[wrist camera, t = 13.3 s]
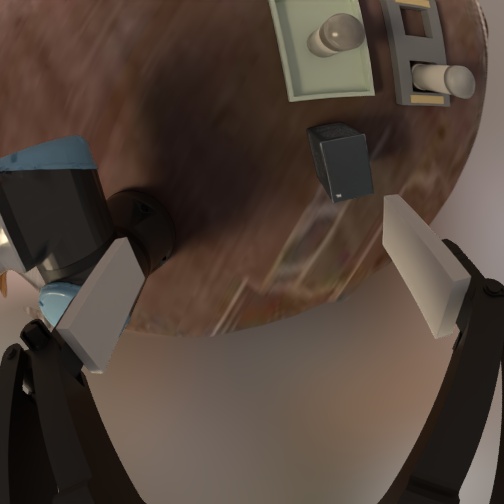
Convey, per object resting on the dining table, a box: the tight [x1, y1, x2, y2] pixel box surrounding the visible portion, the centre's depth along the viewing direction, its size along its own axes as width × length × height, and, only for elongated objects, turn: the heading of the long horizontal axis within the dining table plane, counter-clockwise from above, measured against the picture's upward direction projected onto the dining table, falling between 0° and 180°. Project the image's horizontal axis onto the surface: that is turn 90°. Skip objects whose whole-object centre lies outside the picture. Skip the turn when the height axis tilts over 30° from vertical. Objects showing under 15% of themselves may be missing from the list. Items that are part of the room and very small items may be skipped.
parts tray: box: [268, 0, 375, 102], centre depth 31 cm, size 16×12×2 cm
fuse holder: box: [380, 0, 450, 107], centre depth 30 cm, size 18×9×2 cm, turn 10°
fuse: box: [410, 64, 475, 99], centre depth 28 cm, size 4×4×12 cm
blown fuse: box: [307, 13, 365, 58], centre depth 27 cm, size 4×4×12 cm
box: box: [307, 122, 374, 203], centre depth 37 cm, size 8×6×11 cm
